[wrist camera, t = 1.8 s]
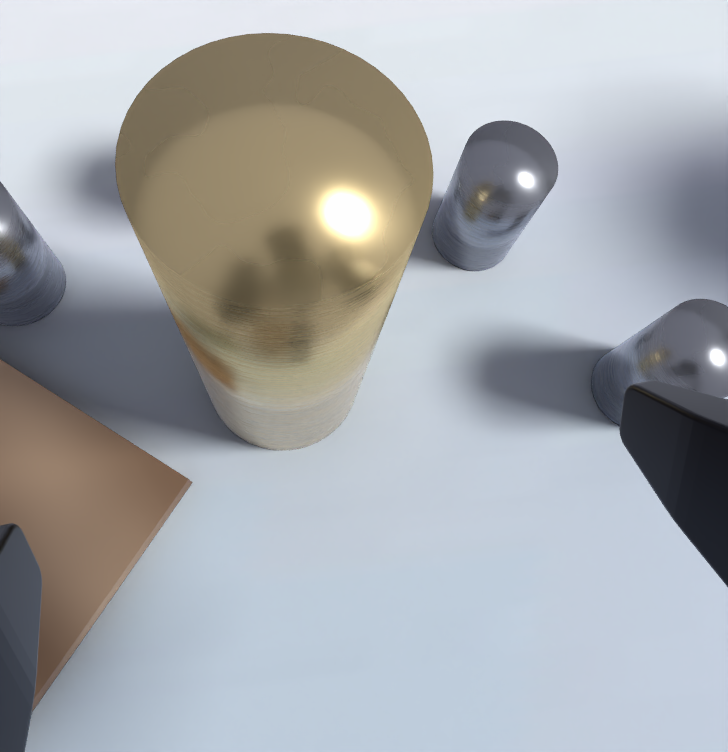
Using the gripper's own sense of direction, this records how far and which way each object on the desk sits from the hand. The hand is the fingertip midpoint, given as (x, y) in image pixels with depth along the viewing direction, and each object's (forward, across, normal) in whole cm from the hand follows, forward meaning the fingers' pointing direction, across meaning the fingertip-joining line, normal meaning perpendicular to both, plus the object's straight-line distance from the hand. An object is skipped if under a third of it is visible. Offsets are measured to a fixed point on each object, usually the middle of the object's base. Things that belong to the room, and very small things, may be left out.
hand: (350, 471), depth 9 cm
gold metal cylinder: (+12, 0, +5) cm, 13 cm away
